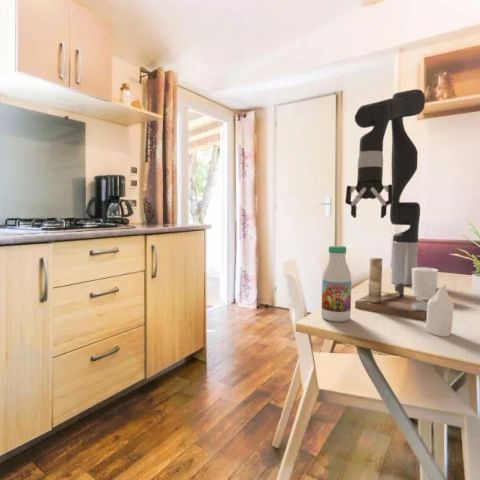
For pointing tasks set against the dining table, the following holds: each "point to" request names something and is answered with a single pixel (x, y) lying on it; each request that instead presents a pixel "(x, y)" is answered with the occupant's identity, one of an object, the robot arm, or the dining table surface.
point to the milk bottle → (336, 286)
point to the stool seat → (394, 306)
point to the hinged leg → (376, 282)
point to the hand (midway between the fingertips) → (368, 217)
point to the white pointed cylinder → (440, 313)
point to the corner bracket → (419, 306)
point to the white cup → (424, 282)
